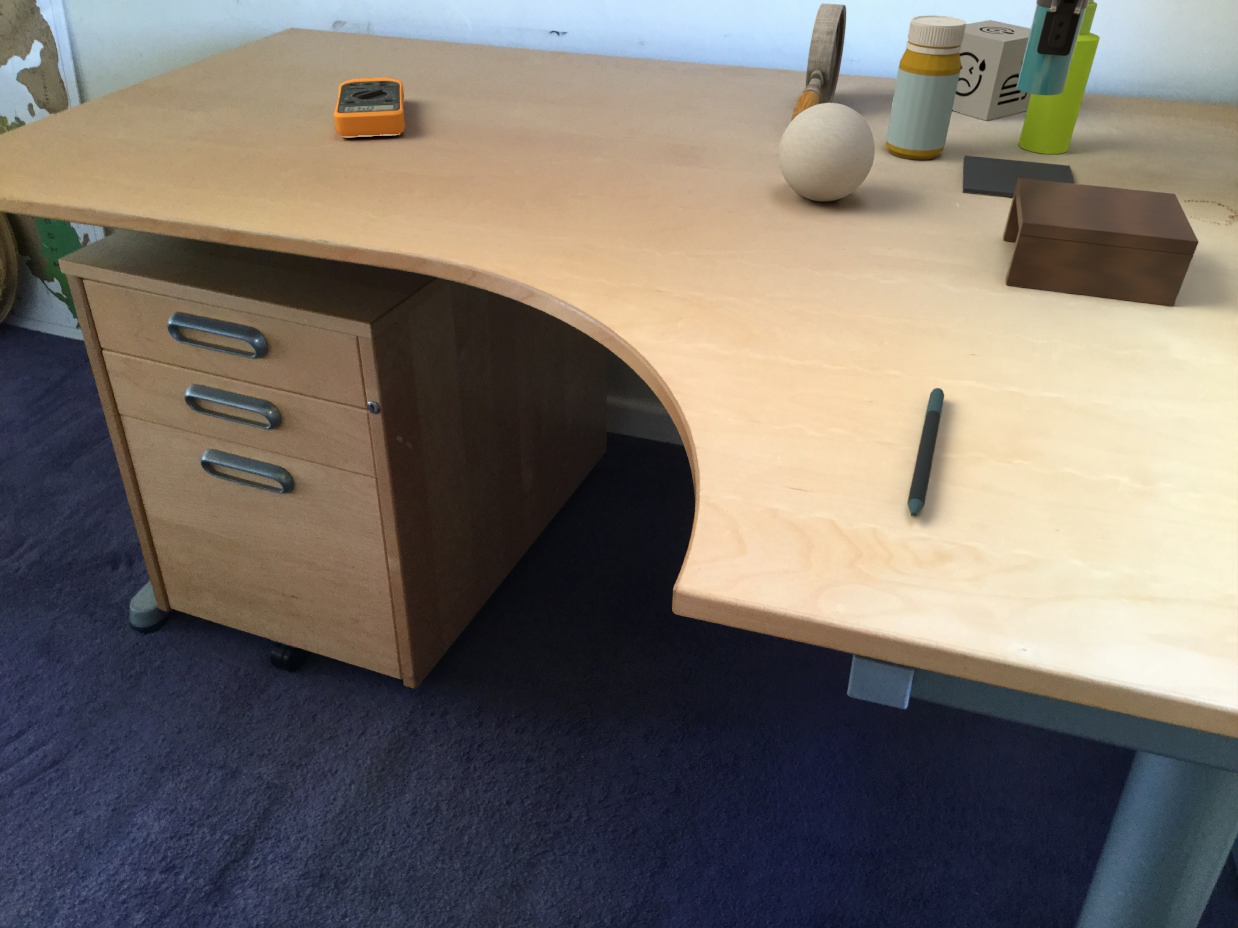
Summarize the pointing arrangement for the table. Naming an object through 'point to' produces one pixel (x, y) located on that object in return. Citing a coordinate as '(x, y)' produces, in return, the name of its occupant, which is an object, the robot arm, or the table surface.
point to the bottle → (925, 87)
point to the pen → (925, 453)
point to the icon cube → (991, 70)
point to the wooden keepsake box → (1098, 241)
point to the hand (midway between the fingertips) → (1051, 46)
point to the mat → (1007, 174)
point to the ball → (826, 152)
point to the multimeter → (370, 107)
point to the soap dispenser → (1061, 98)
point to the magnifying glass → (823, 57)
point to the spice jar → (1045, 58)
